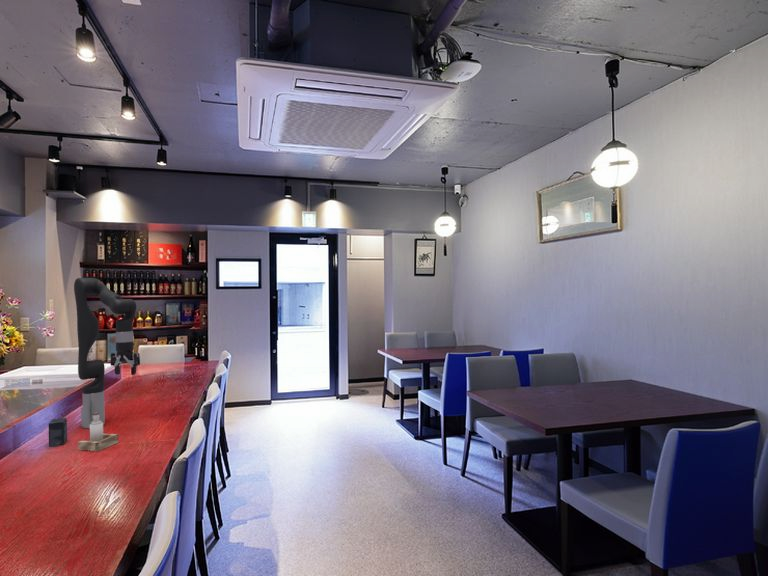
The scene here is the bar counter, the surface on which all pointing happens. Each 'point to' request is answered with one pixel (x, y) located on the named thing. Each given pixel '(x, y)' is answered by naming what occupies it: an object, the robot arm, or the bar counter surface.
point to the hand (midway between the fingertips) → (125, 374)
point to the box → (57, 432)
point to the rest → (98, 443)
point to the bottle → (96, 428)
